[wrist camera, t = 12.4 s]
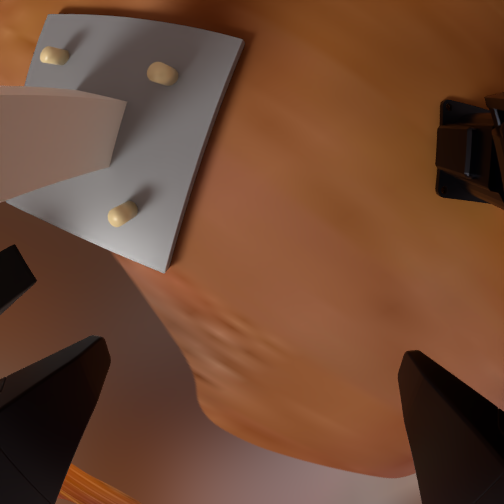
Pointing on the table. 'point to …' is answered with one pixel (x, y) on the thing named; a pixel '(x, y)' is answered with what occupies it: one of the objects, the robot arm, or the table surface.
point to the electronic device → (13, 277)
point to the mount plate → (134, 126)
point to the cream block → (53, 136)
